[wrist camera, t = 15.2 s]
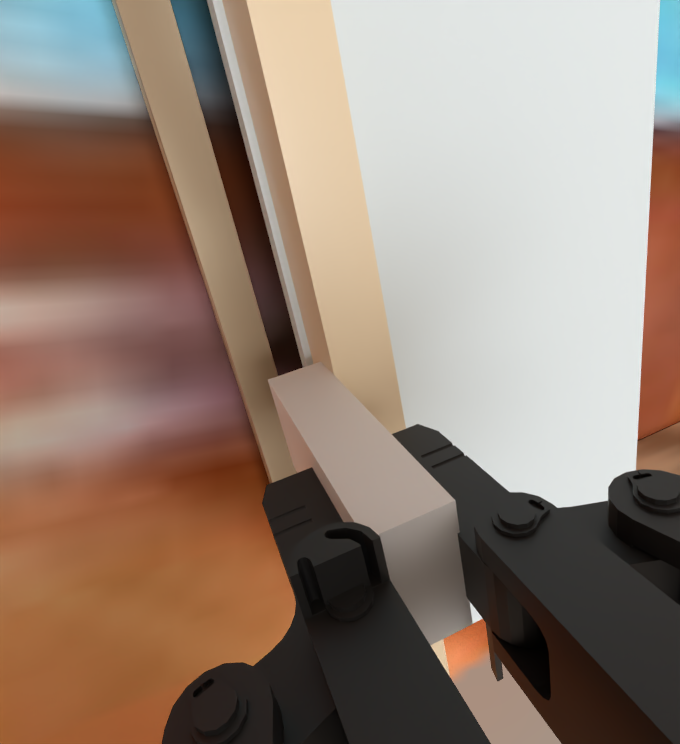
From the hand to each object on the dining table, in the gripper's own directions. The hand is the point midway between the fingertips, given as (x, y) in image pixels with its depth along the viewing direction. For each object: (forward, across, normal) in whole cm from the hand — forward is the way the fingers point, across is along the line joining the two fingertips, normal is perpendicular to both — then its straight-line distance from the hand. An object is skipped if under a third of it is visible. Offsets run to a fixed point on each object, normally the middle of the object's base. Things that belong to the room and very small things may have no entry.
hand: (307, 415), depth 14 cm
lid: (+2, +7, 0) cm, 7 cm away
